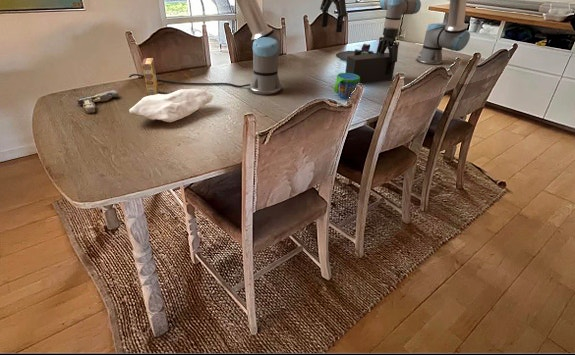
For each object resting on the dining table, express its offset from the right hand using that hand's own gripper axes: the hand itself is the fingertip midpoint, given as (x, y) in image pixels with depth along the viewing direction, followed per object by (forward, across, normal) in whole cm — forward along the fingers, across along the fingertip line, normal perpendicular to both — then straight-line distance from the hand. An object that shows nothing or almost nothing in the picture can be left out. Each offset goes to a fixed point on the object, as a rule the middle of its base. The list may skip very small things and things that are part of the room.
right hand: (383, 72), depth 199 cm
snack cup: (+4, -19, +36) cm, 40 cm away
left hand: (-23, +1, +35) cm, 42 cm away
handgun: (+3, +9, +141) cm, 142 cm away
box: (+4, 0, +9) cm, 10 cm away
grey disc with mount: (+4, +40, -14) cm, 43 cm away
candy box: (+3, +13, +119) cm, 120 cm away
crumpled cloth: (+3, -12, +115) cm, 116 cm away
